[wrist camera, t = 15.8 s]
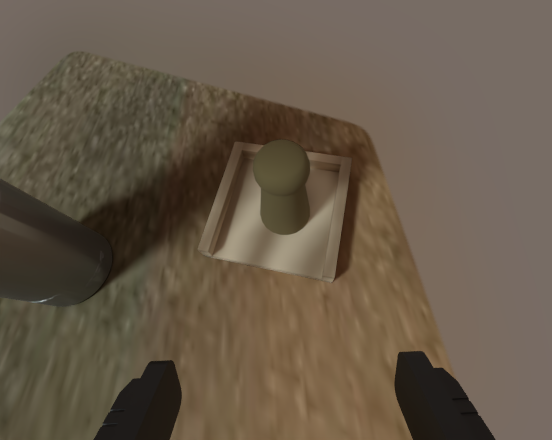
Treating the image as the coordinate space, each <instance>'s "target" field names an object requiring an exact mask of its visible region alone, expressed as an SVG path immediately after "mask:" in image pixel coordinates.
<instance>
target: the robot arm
mask: <svg viewBox="0 0 552 440" xmlns="http://www.w3.org/2000/svg"><path fill="white" fill-rule="evenodd" d="M111 265H112V250H111V247H110V244H109V243H108V241H107V240H106V239H105V238H104V237H103V236H102V235H101V234H99V233H97V232H95V231H93V230H92V229H90V228H88V227H86V226H84V225H83V224H81V223H79V222H77V221H76V220H74V219H72V218H70V217H68V216H67V215H65V214H63V213H61V212H59V211H58V210H56V209H54V208H52V207H51V206H49V205H47V204H45V203H43V202H42V201H40V200H38V199H36V198H34V197H33V196H31V195H29V194H27V193H25V192H24V191H22V190H20V189H18V188H16V187H15V186H13V185H11V184H9V183H7V182H6V181H4V180H2V179H0V297H2V298H8V299H15V300H21V301H27V302H33V303H39V304H46V305H52V306H71V305H75V304H77V303H80V302H82V301H84V300H86V299H87V298H89V297H90V296H92V295H93V294H94V293H95V292H96V291H97V290H98V289H99V288H100V287H101V285H102V284H103V283H104V281H105V280H106V278H107V276H108V274H109V271H110V269H111ZM395 393H396V397H397V400H398V403H399V406H400V408H401V411H402V413H403V416H404V418H405V421H406V423H407V426H408V428H409V431H410V433H411V436H412V438H413V440H495V438H494V436H493V435H492V433H491V432H490V430H489V429H488V427H487V426H486V424H485V423H484V421H483V420H482V418H481V417H480V416H479V415H478V412H477V410H476V409H475V407H474V406H473V404H472V403H471V402H470V401H469V399H468V397H467V395H466V393H465V392H464V391H463V389H462V387H461V386H460V384H459V383H458V381H457V380H456V379H454V378H453V377H452V376H451V375H450V374H449V373H448V372H447V371H445V370H444V369H443V368H433V366H432V365H431V363H430V361H429V359H428V358H427V356H426V355H425V353H424V352H422V351H413V352H399V354H398V359H397V367H396V374H395ZM181 398H182V392H181V387H180V383H179V379H178V375H177V372H176V368H175V364H174V362H173V361H172V360H170V361H151V362H150V363H149V364H148V365H147V367H146V369H145V371H144V372H143V374H142V376H141V378H138V379H132V381H131V382H130V383H129V384H128V385H127V386H126V387H125V388H124V389H123V390H122V391H121V392H120V393H119V395H118V397H117V399H116V400H115V402H114V404H113V406H112V408H111V411H110V413H108V415H107V417H106V418H105V420H104V422H103V426H102V427H100V429H99V431H98V433H97V435H96V436H95V438H94V440H170V437H171V434H172V431H173V428H174V425H175V422H176V418H177V415H178V412H179V409H180V405H181Z"/></svg>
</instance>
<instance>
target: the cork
mask: <svg viewBox="0 0 552 440" xmlns="http://www.w3.org/2000/svg"><path fill="white" fill-rule="evenodd" d="M253 173H254V177H255V181H256V182H257V183H258V185H259V186H260V188H261V204H260V216H261V219H262V222H263V224H264V225H265V227H266V228H267V229H269V230H270V231H271V232H273V233H276V234H279V235H290V234H294V233H296V232H298V231H300V230H301V229H303V227H304V226H305V225H306V224H307V222H308V220H309V217H310V206H309V201H308V196H307V191H306V186H305V184H306V182H307V180H308V177H309V175H310V161H309V158H308V156H307V153H306V152H305V150H304V149H303V148H302V147H301V146H300V145H298V144H296V143H295V142H293V141H289V140H274V141H271V142H269V143H267V144H265V145H264V146H263V147H262V148H261V149H260V150H259V151H258V152H257V154H256V156H255V158H254V161H253Z"/></svg>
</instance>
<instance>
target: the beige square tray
mask: <svg viewBox="0 0 552 440" xmlns="http://www.w3.org/2000/svg"><path fill="white" fill-rule="evenodd" d="M263 146H264V145H258V144H251V143H244V142H237V141H235V143H234V146H233V149H232V152H231V155H230V158H229V161H228V164H227V166H226V169H225V172H224V175H223V178H222V181H221V184H220V187H219V189H218V192H217V195H216V198H215V201H214V204H213V207H212V210H211V213H210V215H209V218H208V221H207V224H206V227H205V230H204V233H203V236H202V238H201V241H200V244H199V247H198V250H199V251H200V252H201V253H202V254H203V255H204V256H207V257H212V258H216V259H221V260H226V261H231V262H235V263H240V264H245V265H250V266H254V267H259V268H264V269H269V270H274V271H278V272H283V273H288V274H293V275H297V276H302V277H307V278H312V279H316V280H321V281H326V282H331V283H332V281H333V280H334V278H335V272H336V265H337V258H338V251H339V244H340V237H341V231H342V224H343V217H344V210H345V203H346V197H347V190H348V183H349V176H350V169H351V162H352V158H349V157H342V156H335V155H328V154H321V153H314V152H307V151H305V152H306V153H307V156H308V158H309V161H310V175H309V177H308V180H307V182H306V184H305V186H306V191H307V196H308V201H309V206H310V217H309V220H308V222H307V224H306V225H305V226H304V227H303V229H301V230H300V231H298V232H296V233H294V234H290V235H279V234H276V233H273V232H271V231H270V230H269V229H267V228H266V227H265V225H264V224H263V222H262V219H261V216H260V204H261V188H260V186H259V185H258V183H257V182H256V181H255V177H254V173H253V161H254V158H255V156H256V154H257V152H258V151H259V150H260V149H261V148H262V147H263Z"/></svg>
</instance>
